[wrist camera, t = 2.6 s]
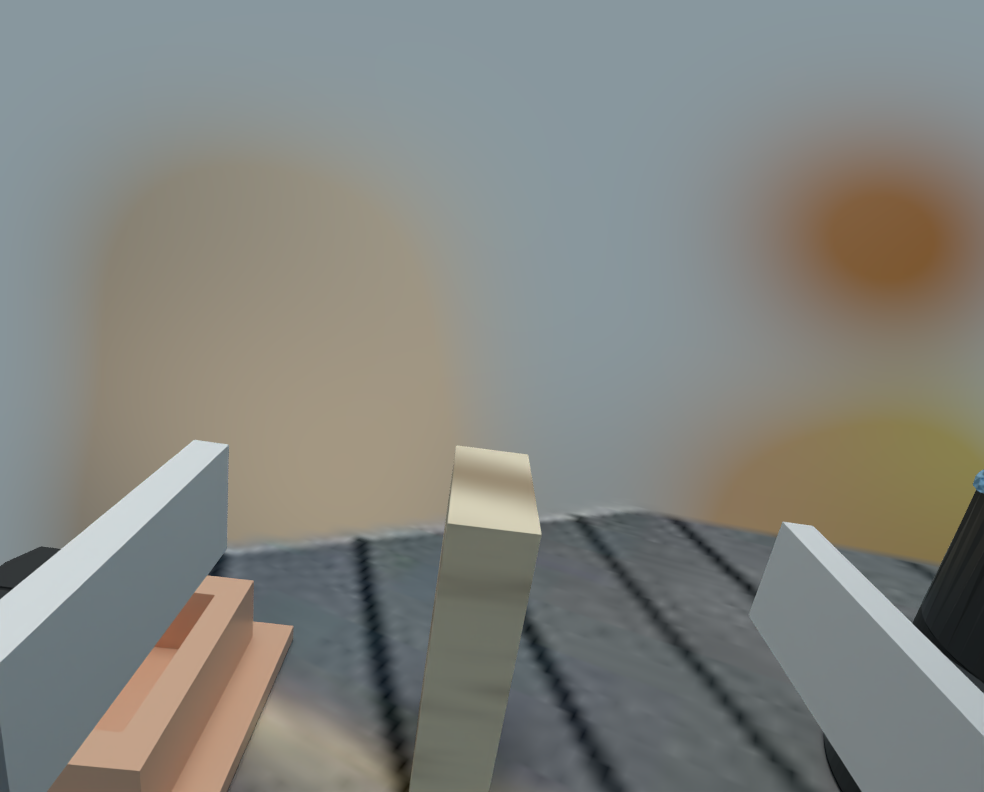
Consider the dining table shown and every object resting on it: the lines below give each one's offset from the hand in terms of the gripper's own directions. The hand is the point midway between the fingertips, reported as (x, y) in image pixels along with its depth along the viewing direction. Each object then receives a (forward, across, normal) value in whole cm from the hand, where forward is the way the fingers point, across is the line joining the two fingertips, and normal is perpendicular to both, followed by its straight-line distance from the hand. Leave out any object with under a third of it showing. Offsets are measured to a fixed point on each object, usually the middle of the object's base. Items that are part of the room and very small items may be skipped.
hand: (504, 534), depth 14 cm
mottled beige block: (+10, +1, -20) cm, 22 cm away
